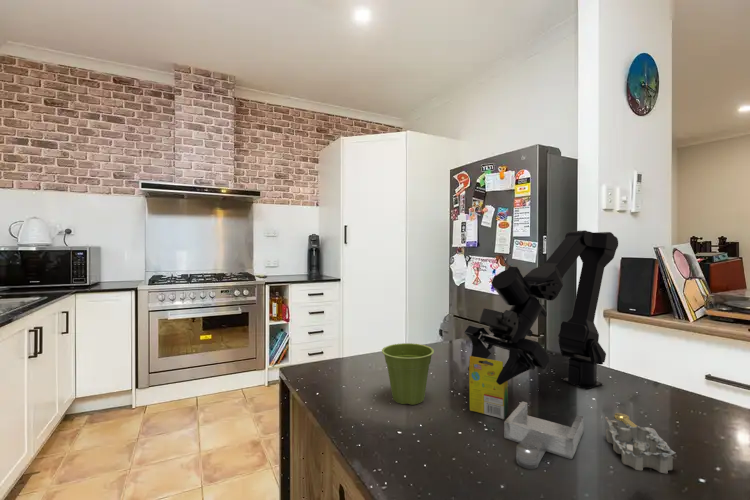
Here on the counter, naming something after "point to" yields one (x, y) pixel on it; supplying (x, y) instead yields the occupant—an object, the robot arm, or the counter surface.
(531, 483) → the counter surface
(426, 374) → the plant pot
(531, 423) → the grey u-shaped piece
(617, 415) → the brass key
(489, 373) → the crayon box
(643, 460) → the egg carton
